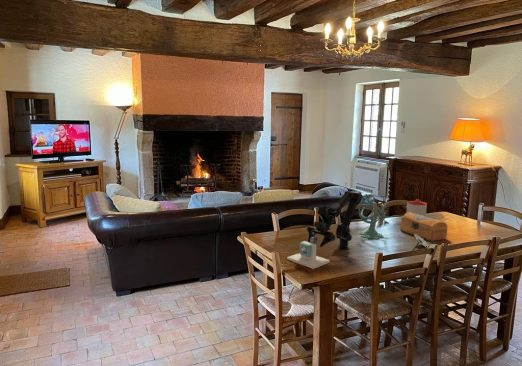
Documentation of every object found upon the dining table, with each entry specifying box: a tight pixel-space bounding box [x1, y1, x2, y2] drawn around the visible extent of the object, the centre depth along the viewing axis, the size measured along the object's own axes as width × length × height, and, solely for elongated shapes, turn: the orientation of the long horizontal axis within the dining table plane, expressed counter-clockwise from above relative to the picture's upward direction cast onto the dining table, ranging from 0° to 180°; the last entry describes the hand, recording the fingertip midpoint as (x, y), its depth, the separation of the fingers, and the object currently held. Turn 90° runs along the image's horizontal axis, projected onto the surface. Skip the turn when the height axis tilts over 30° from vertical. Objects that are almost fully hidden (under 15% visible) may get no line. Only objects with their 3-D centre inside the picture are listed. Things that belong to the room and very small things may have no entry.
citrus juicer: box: [405, 199, 428, 217], centre depth 330 cm, size 16×17×20 cm
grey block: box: [301, 236, 318, 256], centre depth 237 cm, size 12×3×12 cm, turn 134°
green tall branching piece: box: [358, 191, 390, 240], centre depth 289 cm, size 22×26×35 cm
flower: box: [412, 234, 430, 250], centre depth 265 cm, size 13×6×30 cm
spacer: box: [299, 241, 311, 257], centre depth 234 cm, size 2×7×7 cm, turn 44°
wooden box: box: [400, 212, 448, 242], centre depth 296 cm, size 30×16×14 cm, turn 25°
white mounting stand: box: [286, 240, 330, 270], centre depth 237 cm, size 15×20×11 cm
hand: (314, 244), depth 240 cm, fingers open, 9 cm apart
